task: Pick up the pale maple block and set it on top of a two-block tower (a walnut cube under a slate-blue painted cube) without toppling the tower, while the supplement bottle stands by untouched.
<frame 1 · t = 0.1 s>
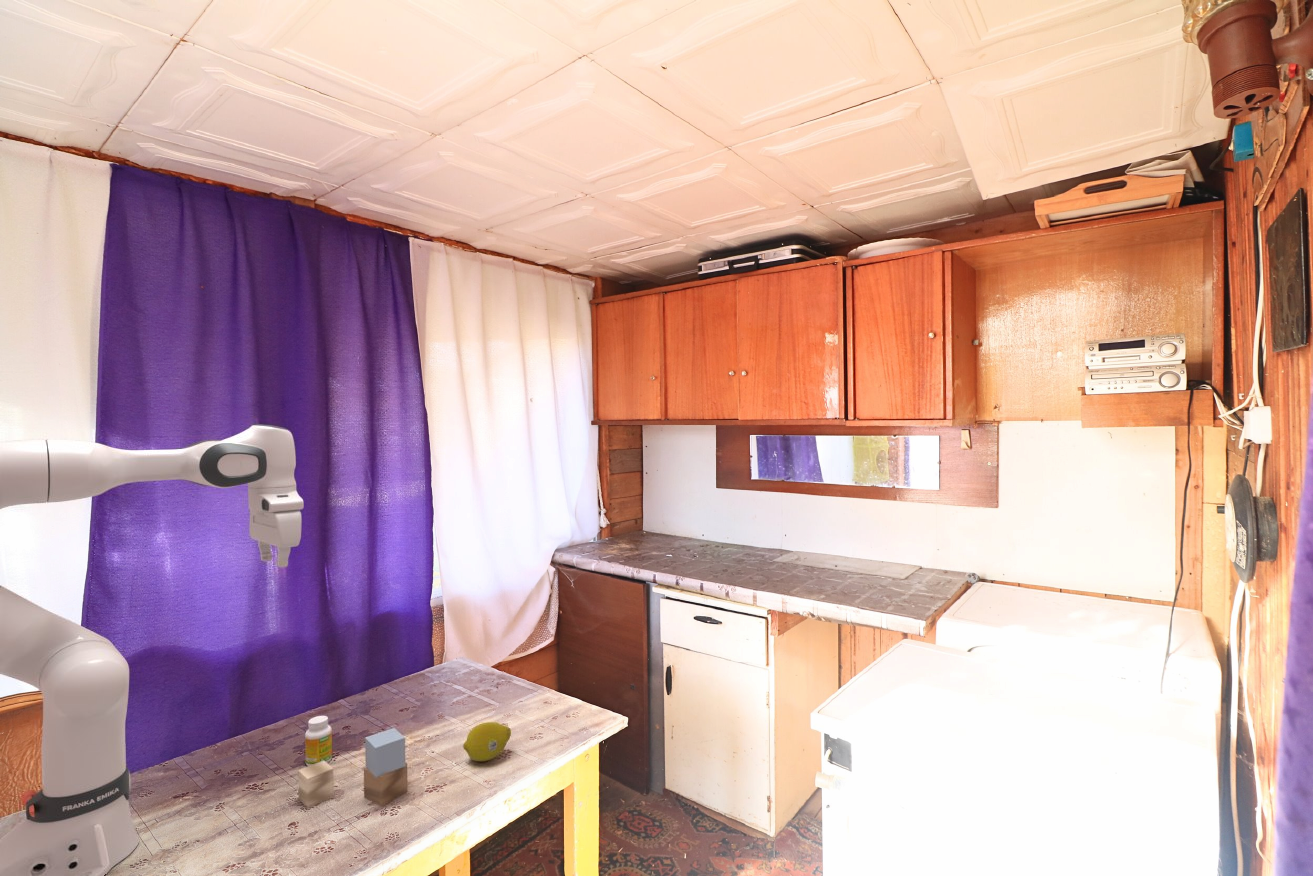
hand: (274, 563, 134), 48 cm above the table, fingers open, 8 cm apart
lemon: (487, 759, 144), on the table
supplement bottle: (319, 762, 143), on the table
top block: (385, 766, 130), point 6 cm above the table, touching bottom block
maple block: (316, 798, 129), on the table
bottom block: (386, 794, 130), on the table, touching top block
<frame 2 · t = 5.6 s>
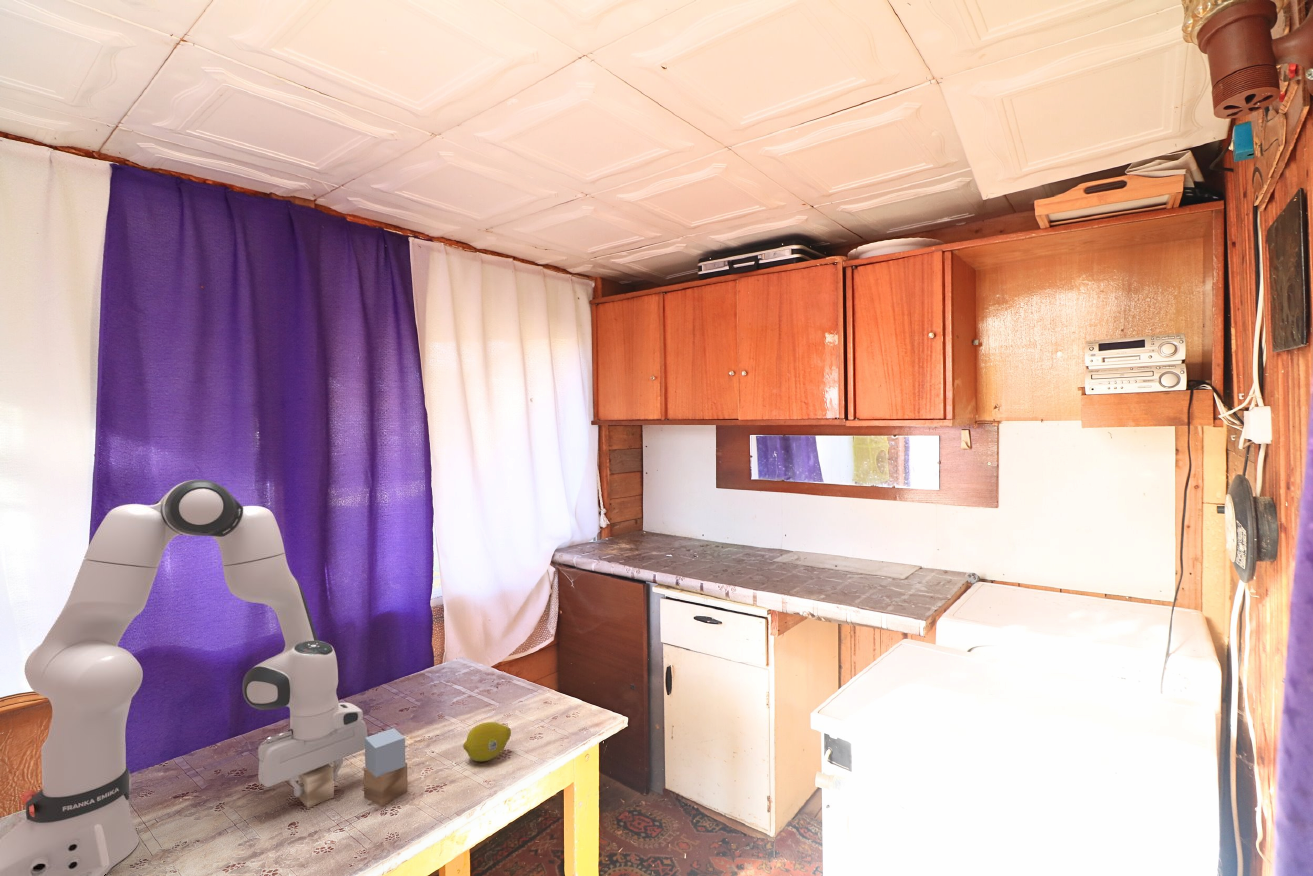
hand: (316, 787, 129), 2 cm above the table, fingers closed on maple block, 5 cm apart
maple block: (316, 797, 129), on the table, touching gripper
everything else where it was.
when the fingers open (15 cm above the table, at t = 11.6 s): maple block drops 1 cm, resting on top block.
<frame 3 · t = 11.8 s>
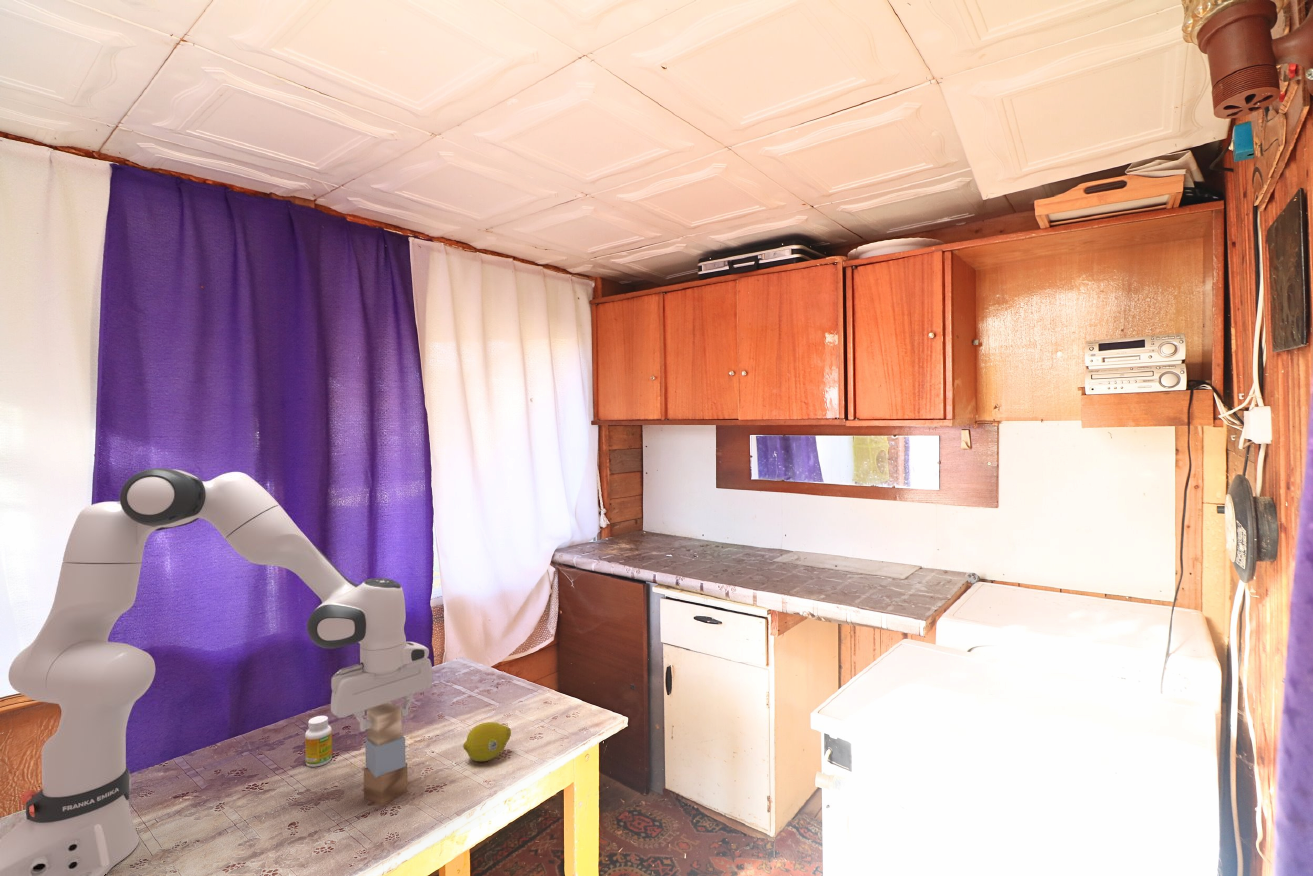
hand: (384, 722, 129), 15 cm above the table, fingers open, 7 cm apart
top block: (385, 766, 130), point 6 cm above the table, touching bottom block, maple block
maple block: (384, 737, 130), point 12 cm above the table, touching top block
everything else where it was.
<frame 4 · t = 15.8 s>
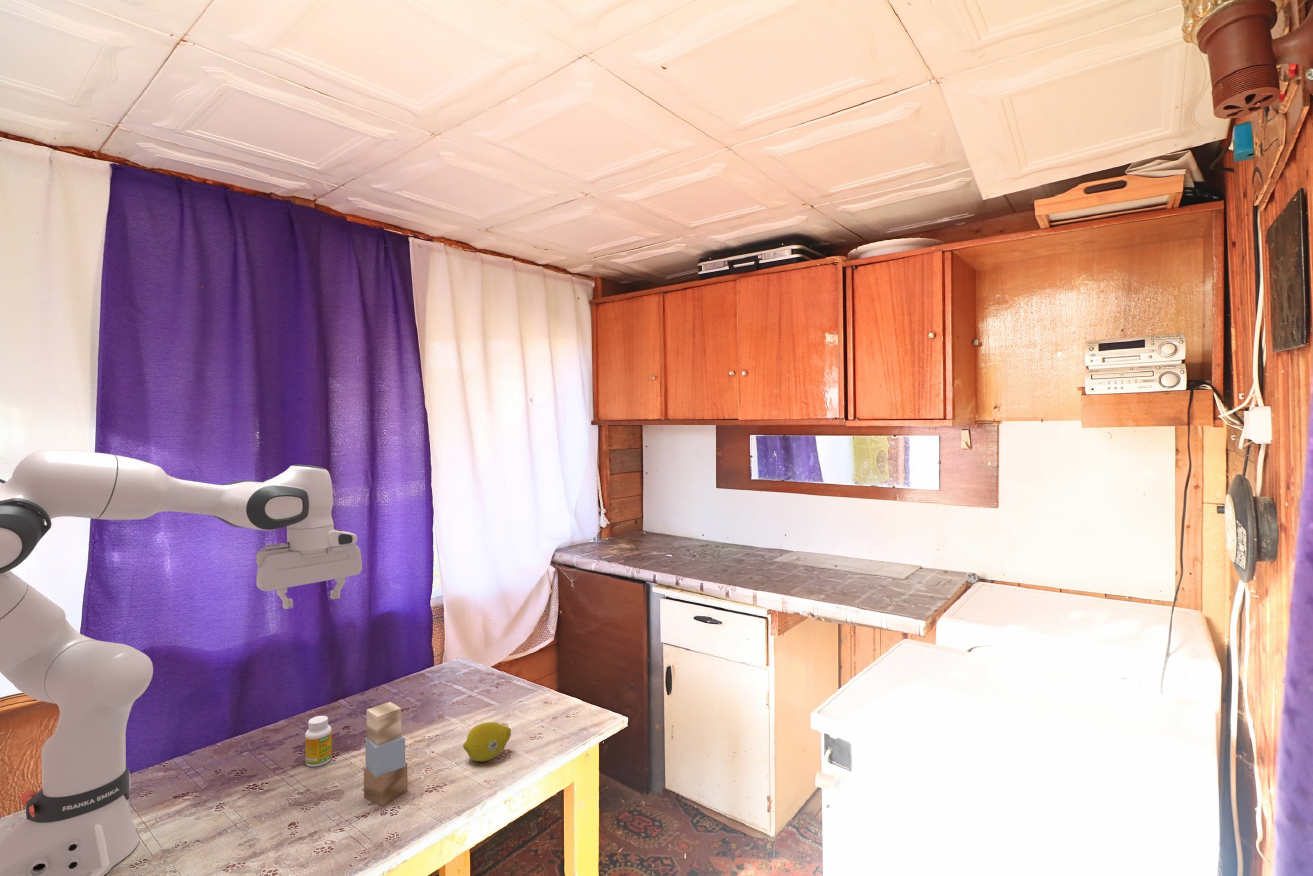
hand: (312, 603, 134), 39 cm above the table, fingers open, 8 cm apart
nothing on the table moved.
at the end: maple block 0.2 cm from the top block (horizontally); maple block point 11.9 cm above the table; top block tilted 0° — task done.
